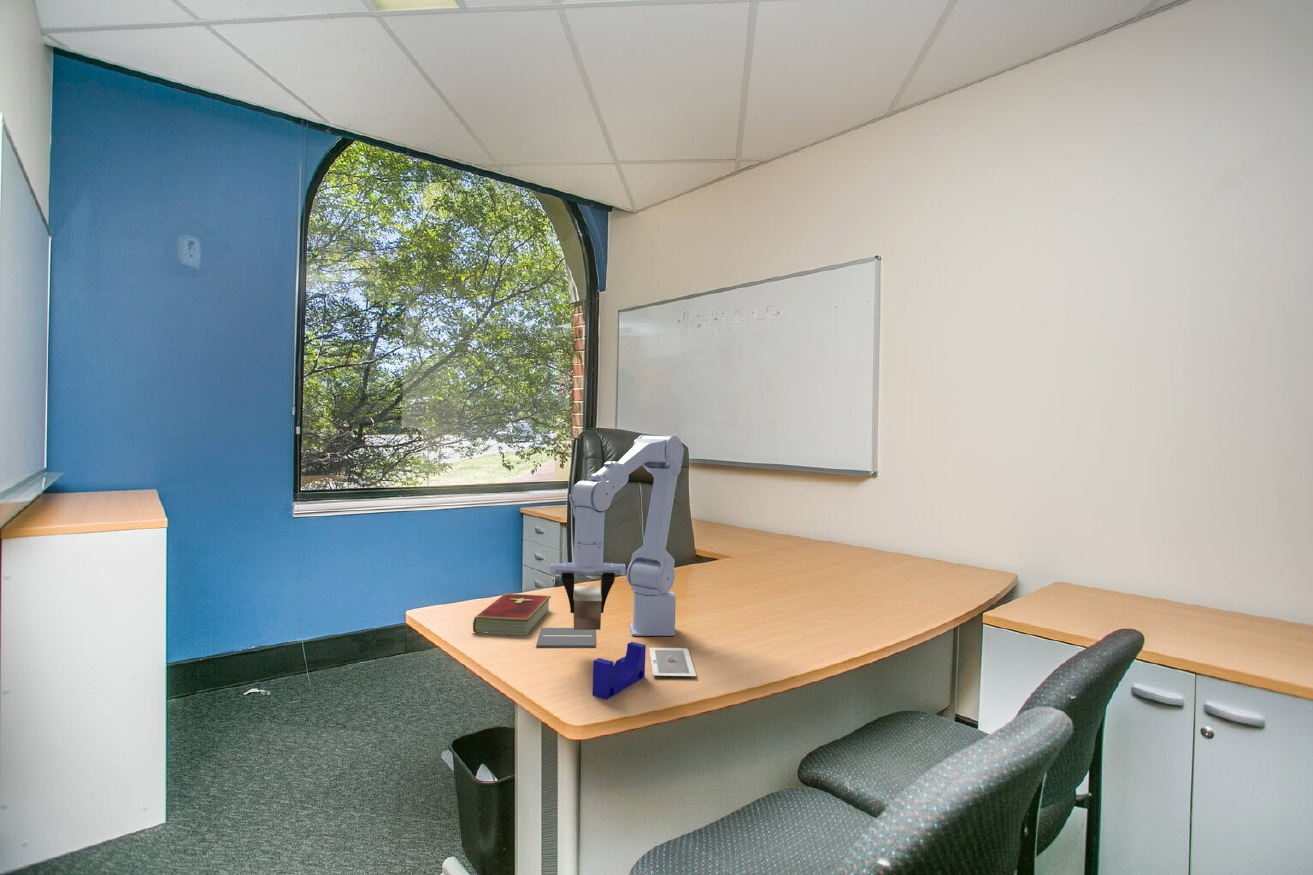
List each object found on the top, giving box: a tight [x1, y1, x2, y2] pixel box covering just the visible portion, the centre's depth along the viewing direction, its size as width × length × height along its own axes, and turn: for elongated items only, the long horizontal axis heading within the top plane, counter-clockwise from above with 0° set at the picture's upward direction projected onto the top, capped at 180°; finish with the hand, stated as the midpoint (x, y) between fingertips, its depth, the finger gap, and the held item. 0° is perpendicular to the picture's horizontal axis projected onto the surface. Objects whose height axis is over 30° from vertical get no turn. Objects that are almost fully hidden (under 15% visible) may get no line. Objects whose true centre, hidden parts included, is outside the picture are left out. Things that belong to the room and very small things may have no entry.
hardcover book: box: [472, 593, 552, 636], centre depth 145 cm, size 12×21×4 cm, turn 176°
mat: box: [535, 627, 597, 648], centre depth 134 cm, size 12×12×1 cm
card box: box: [572, 585, 602, 631], centre depth 122 cm, size 5×9×6 cm, turn 8°
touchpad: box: [648, 647, 697, 677], centre depth 120 cm, size 8×15×2 cm, turn 3°
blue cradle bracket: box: [591, 641, 647, 700], centre depth 109 cm, size 12×4×6 cm, turn 150°
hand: (586, 611), depth 123 cm, fingers closed on card box, 5 cm apart
